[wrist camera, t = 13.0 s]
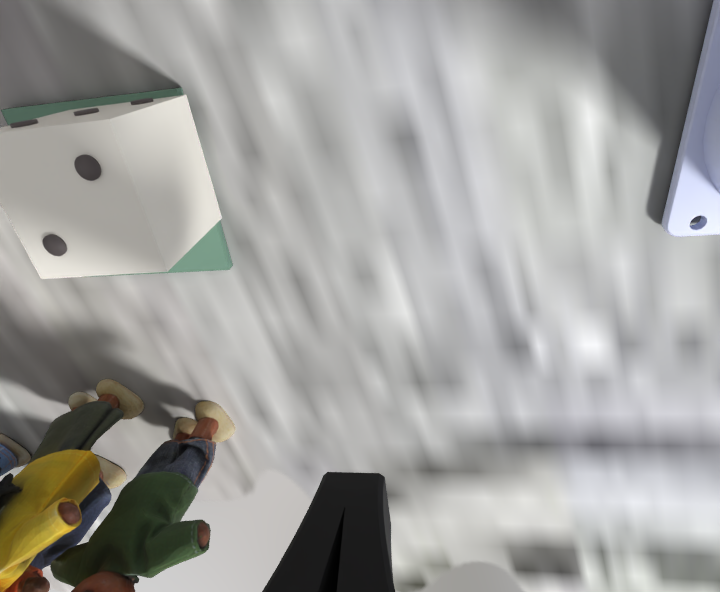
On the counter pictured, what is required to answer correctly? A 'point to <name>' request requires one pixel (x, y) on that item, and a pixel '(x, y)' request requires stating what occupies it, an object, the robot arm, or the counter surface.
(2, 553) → the doll family
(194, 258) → the felt mat
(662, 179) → the counter surface
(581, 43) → the counter surface
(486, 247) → the counter surface
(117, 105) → the die
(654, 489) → the counter surface
